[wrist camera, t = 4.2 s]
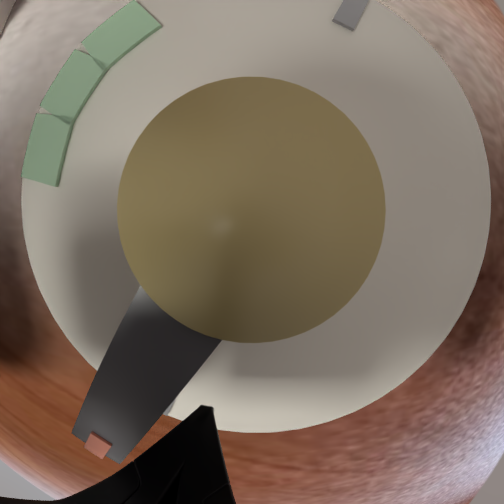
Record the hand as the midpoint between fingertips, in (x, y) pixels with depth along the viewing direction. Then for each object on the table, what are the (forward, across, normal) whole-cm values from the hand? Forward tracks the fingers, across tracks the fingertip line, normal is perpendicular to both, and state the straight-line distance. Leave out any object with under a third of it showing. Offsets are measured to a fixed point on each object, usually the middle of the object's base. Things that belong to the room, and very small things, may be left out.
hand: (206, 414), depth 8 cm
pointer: (+2, +1, -4) cm, 4 cm away
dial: (+3, -1, -6) cm, 7 cm away
